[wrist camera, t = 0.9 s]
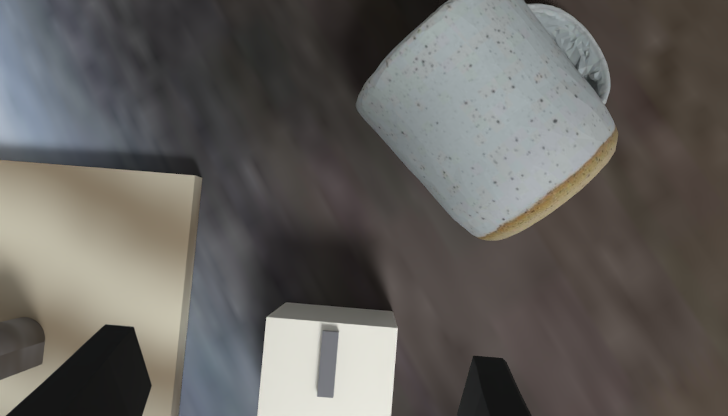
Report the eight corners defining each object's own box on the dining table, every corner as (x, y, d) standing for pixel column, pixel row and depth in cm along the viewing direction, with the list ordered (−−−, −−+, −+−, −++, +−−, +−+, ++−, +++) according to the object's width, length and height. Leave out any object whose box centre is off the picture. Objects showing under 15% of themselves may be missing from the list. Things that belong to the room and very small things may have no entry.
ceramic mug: (468, 253, 24) (517, 258, 16) (352, 124, 24) (348, 70, 17) (632, 106, 25) (754, 43, 17) (516, -18, 25) (584, -134, 17)
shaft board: (167, 524, 23) (125, 583, 20) (-132, 497, 24) (-234, 549, 20) (202, 178, 24) (169, 166, 20) (-87, 155, 25) (-175, 138, 21)
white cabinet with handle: (384, 420, 24) (387, 466, 19) (276, 411, 24) (252, 454, 19) (392, 311, 24) (398, 329, 19) (285, 302, 24) (264, 318, 19)
